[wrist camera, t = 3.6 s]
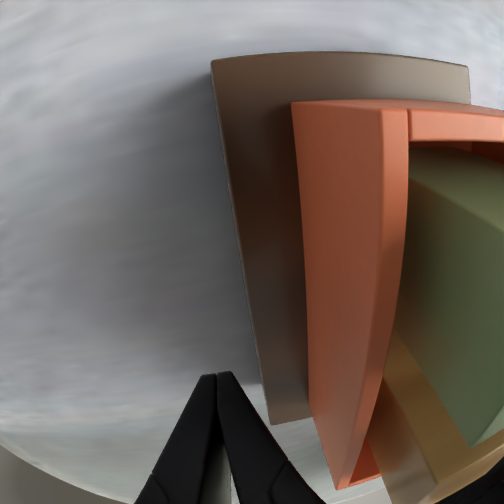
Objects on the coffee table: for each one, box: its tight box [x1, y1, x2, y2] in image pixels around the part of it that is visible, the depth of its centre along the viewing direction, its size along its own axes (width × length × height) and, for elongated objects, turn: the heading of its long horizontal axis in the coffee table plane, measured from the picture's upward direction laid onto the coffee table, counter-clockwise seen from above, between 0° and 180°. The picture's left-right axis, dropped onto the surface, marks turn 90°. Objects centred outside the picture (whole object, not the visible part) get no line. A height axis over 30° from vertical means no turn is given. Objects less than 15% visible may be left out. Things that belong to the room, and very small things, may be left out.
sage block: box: [393, 147, 504, 448], centre depth 6 cm, size 4×4×7 cm
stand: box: [210, 51, 471, 425], centre depth 13 cm, size 16×9×3 cm, turn 7°
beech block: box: [365, 329, 504, 504], centre depth 9 cm, size 4×4×7 cm
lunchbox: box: [291, 99, 504, 490], centre depth 9 cm, size 13×7×5 cm, turn 7°
